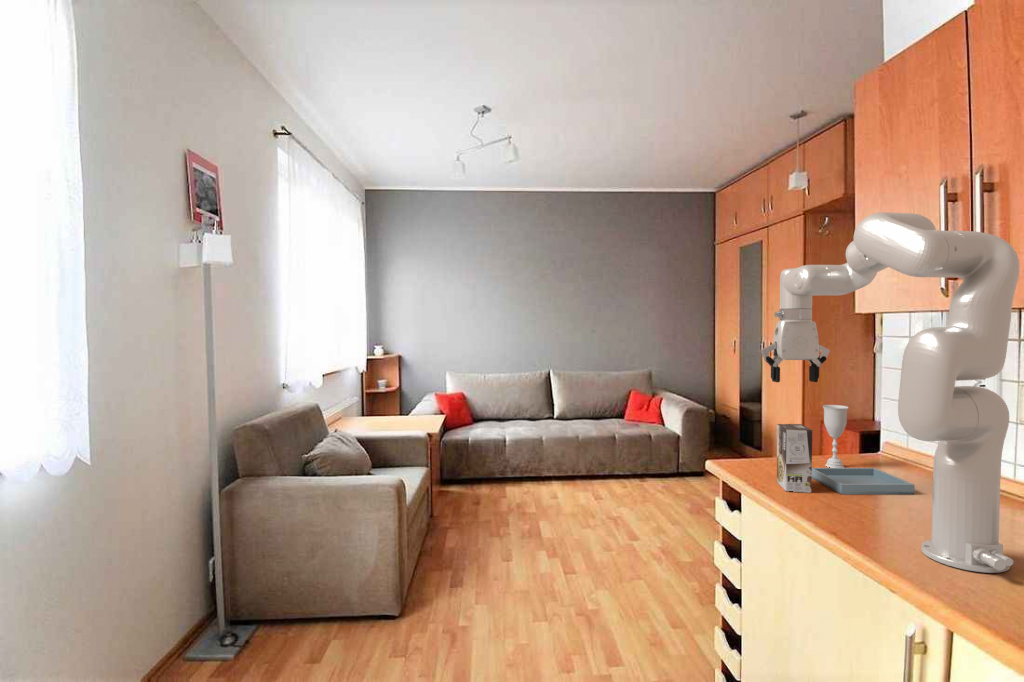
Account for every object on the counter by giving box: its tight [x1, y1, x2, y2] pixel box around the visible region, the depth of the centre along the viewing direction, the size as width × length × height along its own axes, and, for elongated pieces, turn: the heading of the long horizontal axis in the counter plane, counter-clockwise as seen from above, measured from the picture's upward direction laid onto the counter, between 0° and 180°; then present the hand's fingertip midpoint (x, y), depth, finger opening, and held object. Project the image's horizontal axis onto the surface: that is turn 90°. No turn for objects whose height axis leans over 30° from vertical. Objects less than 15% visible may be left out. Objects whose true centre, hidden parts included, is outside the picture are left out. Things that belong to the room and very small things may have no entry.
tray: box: [812, 467, 916, 495], centre depth 148 cm, size 16×18×2 cm
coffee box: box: [776, 423, 813, 494], centre depth 146 cm, size 9×6×16 cm
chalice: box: [822, 404, 849, 468], centre depth 166 cm, size 7×7×18 cm
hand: (794, 381), depth 145 cm, fingers open, 9 cm apart
